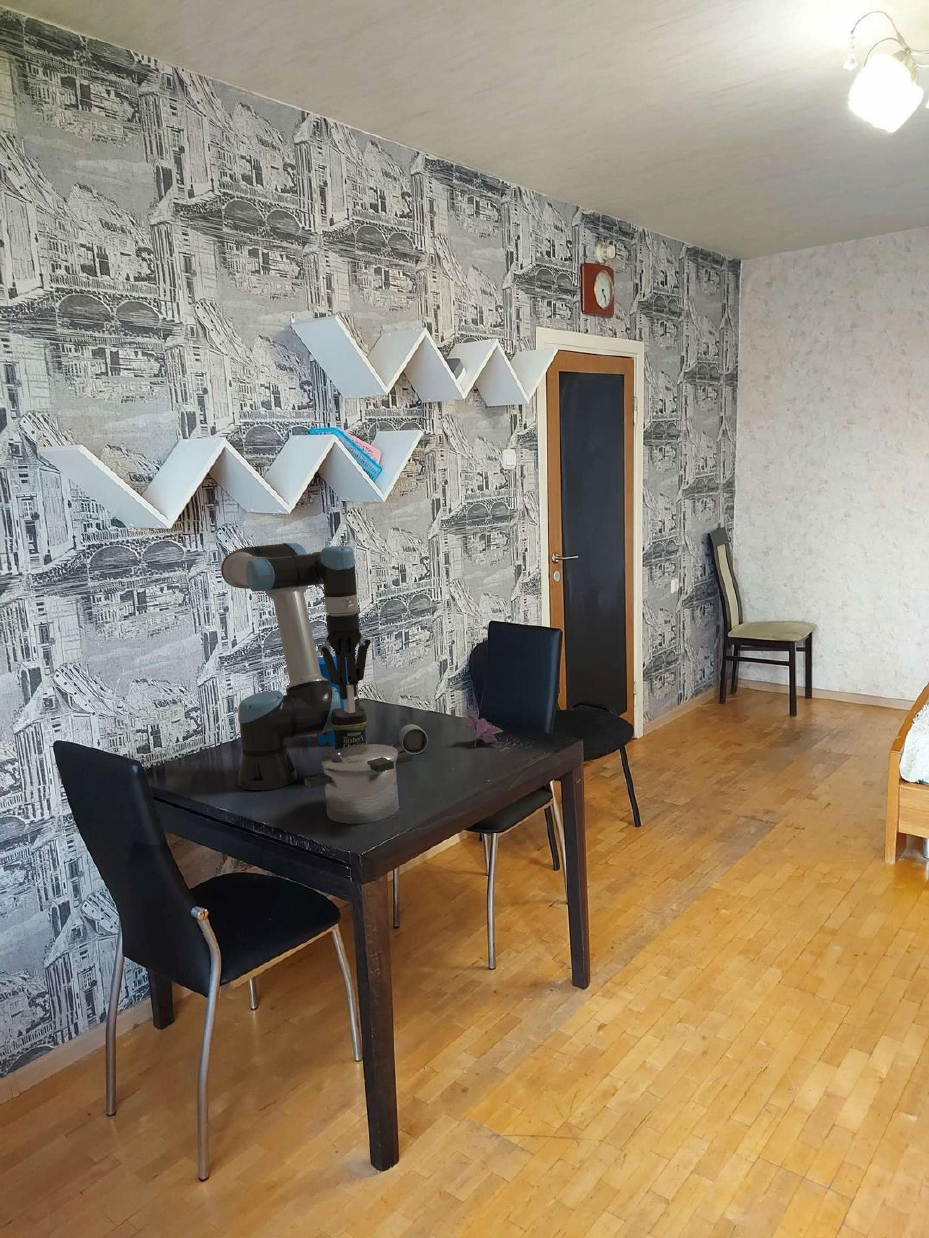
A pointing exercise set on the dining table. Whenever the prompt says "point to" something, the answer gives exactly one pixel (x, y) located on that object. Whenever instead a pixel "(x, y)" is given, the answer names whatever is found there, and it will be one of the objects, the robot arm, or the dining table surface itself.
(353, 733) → the coffee jar
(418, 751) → the ceramic mug
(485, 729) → the lily
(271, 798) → the dining table surface
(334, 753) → the pot lid
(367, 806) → the steel pot
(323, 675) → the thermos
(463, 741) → the dining table surface
